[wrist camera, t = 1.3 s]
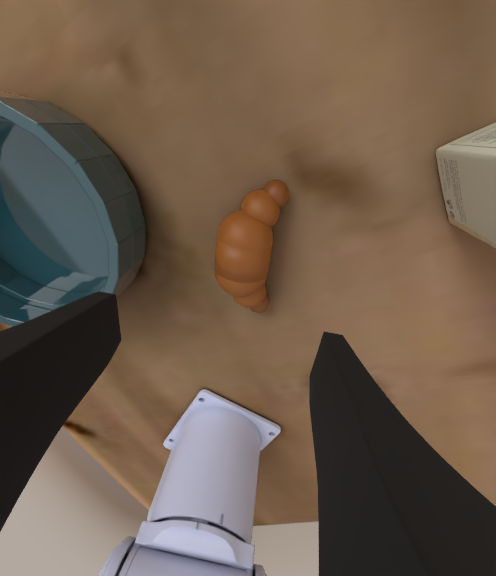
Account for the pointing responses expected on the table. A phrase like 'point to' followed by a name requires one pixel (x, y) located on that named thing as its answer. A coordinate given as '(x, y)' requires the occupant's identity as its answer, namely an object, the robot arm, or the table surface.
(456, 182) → the cosmetic box
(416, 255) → the table surface
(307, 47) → the table surface
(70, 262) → the bowl
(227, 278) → the croissant
